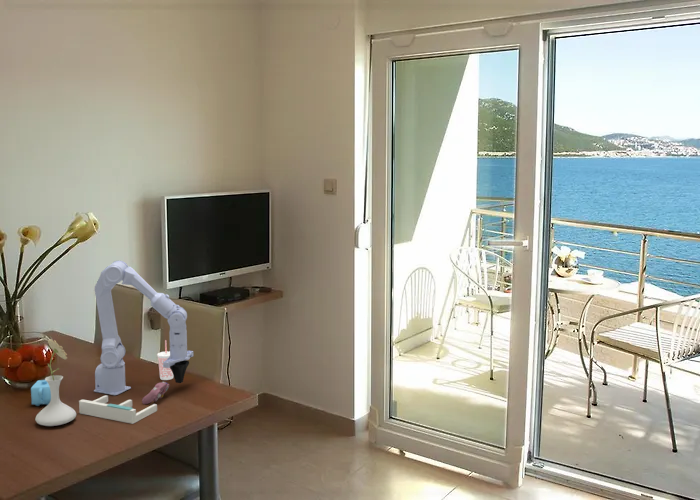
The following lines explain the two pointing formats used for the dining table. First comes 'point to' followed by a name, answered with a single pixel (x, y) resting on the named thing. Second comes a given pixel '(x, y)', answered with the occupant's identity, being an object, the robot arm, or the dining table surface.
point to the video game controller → (156, 393)
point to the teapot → (40, 393)
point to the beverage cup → (164, 372)
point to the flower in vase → (55, 397)
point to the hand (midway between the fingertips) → (179, 382)
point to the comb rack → (114, 410)
